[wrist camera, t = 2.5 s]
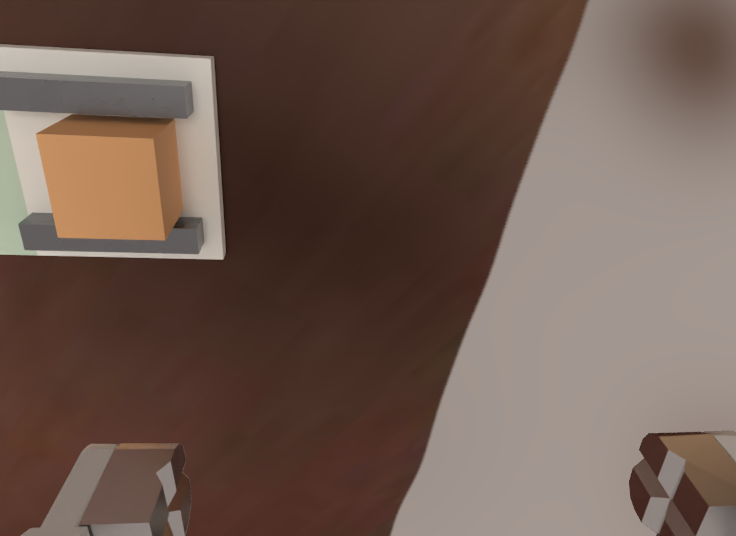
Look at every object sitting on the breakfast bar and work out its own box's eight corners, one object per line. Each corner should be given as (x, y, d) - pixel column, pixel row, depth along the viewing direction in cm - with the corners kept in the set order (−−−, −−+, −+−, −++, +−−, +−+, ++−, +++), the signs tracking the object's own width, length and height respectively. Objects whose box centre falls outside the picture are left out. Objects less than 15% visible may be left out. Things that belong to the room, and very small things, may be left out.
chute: (214, 56, 28) (204, 63, 26) (226, 252, 33) (218, 272, 31) (-145, 36, 26) (-190, 41, 24) (-75, 244, 31) (-107, 265, 29)
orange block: (174, 118, 28) (153, 138, 25) (183, 210, 30) (165, 240, 27) (72, 113, 28) (35, 133, 24) (88, 207, 30) (57, 237, 26)
